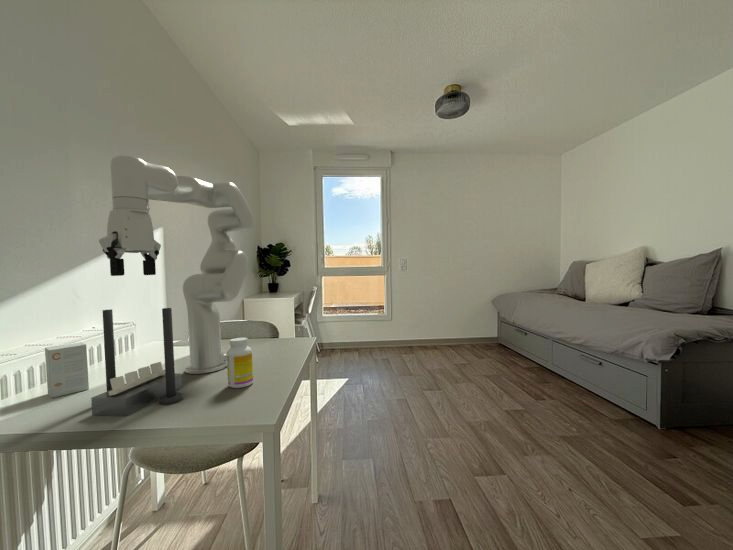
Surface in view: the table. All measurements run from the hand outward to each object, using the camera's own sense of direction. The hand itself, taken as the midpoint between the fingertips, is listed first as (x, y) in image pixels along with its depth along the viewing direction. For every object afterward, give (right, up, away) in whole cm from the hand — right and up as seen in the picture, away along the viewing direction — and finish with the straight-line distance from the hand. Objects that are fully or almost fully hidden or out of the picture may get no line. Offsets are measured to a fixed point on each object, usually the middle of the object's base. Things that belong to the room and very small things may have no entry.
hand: (134, 275), depth 85 cm
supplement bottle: (+23, -31, +9) cm, 40 cm away
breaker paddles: (+1, -27, 0) cm, 28 cm away
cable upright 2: (+10, -31, -1) cm, 33 cm away
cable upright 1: (-7, -32, +2) cm, 33 cm away
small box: (-25, -33, +10) cm, 43 cm away
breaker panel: (+1, -32, +1) cm, 32 cm away
